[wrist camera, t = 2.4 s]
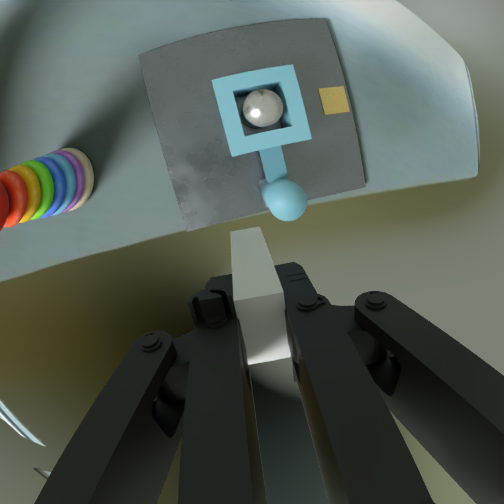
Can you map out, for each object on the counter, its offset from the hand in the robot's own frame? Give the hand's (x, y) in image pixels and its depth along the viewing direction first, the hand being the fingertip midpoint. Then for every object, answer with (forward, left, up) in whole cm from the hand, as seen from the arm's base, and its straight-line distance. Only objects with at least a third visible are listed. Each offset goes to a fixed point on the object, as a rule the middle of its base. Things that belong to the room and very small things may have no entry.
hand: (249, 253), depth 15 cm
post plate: (+4, +8, -19) cm, 21 cm away
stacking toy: (-20, +8, -19) cm, 28 cm away
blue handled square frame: (+4, +5, -17) cm, 18 cm away
